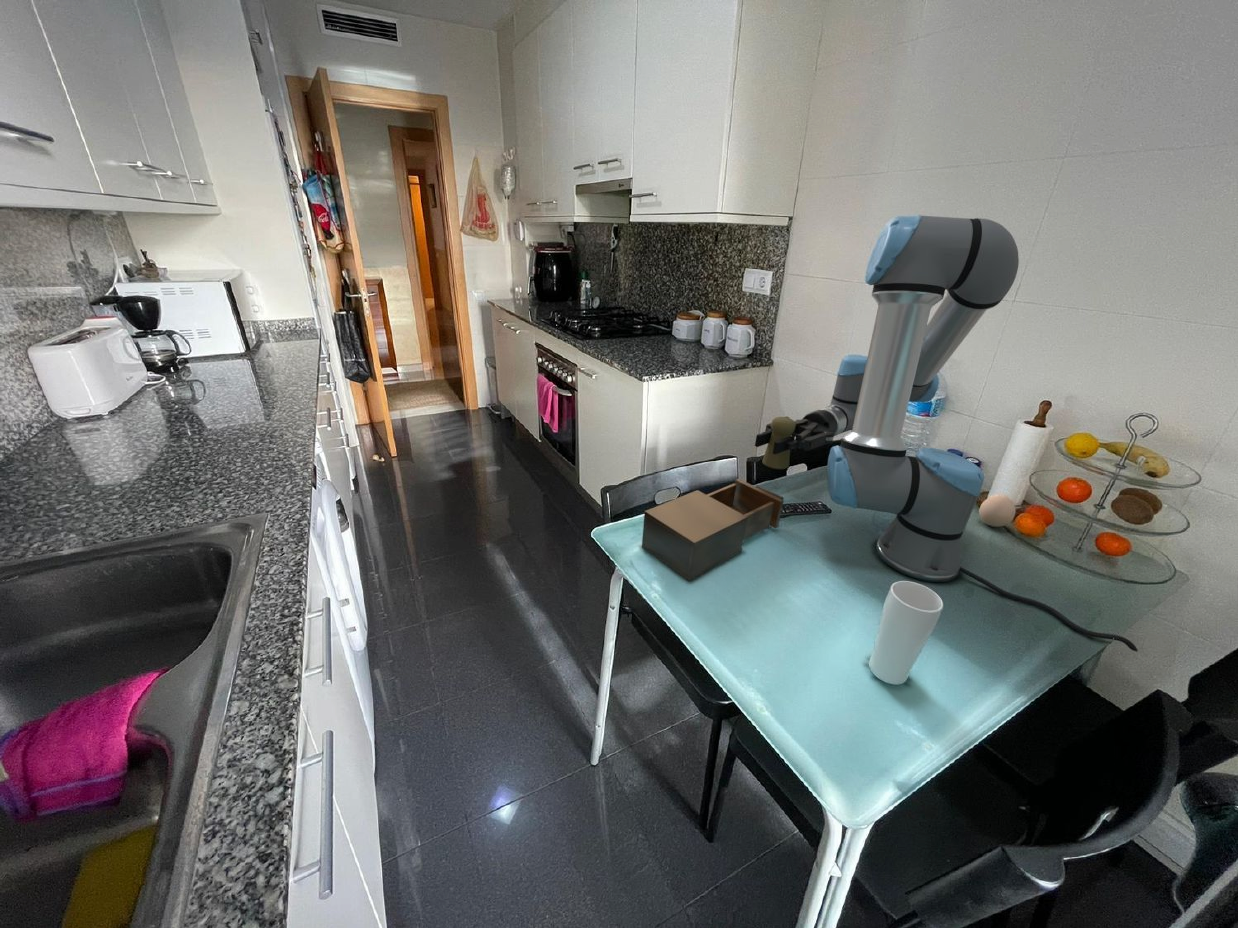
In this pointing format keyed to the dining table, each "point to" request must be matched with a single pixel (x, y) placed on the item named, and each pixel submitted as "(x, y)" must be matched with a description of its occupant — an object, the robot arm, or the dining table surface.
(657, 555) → the cabinet
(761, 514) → the drawer
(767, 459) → the olive pawn figure
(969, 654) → the dining table surface
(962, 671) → the dining table surface
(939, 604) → the drinking glass
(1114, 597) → the dining table surface
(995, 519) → the egg
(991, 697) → the dining table surface
